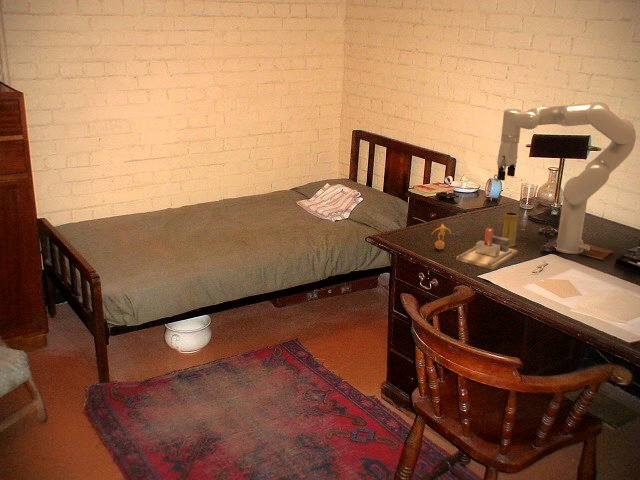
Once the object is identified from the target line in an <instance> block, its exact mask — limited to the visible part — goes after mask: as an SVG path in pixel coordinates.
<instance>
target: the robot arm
mask: <svg viewBox="0 0 640 480" xmlns="http://www.w3.org/2000/svg"><path fill="white" fill-rule="evenodd" d="M502 118H503V119H502V126H501V135H500V145H499V150H498V155H497V161H496V164H497V180H499V181H505V180H506V175H507V176H508V177H515V174H516V167H517V160H518V150H519V149H518V148H519V143H520V136H521V129H523V130H524V129H526V130H534V129H536V128H537V127H538V126H545V125H548V126H549V125H559V126H562V127H578V126H587V125H591V126H592V127H593V128H595V130H597V132H600V134H602V135H603V136H605V137H606V138H607V139H608V140H610V141H611V142H610V143H609V145H607V147H606V148H605V149H604V150H603V151H602V152H601V153H599V154H598V155H597V156H596V157H595V158H594V159H592V160H591V161H590V162H588V164H586V166H585V168H584V170H583V171H582V172H580V174H579V175H577V176H574V177H571V178H569V179H568V180H566V181H567V182H566V183H565V185H564V187H563V191H562V196H563V199H562V204H561V212H560V218H559V226H558V233H557V239H556V242H557V247H555V248H556V250H555V251H556V252H560V253H564V254H569V255H570V254H572V255H574V254H575V255H576V254H582V253H584V251H590V250H591V246H590V244H586V243H584V240H583V239H582V236H583V230H584V224H585V216H586V211H587V210H586V209H587V205H588V204H587V203H588V199H590V198H591V197H592V196H593V195H594V194H596V193H597V192H598V191H599V190H600V189H601V188H603V187H604V185H606V183H607V182H608V180H609V178H610V175H611V173H613V172H614V170H616V169H617V168H618V167H619V166H620V165H621V164H622V163H623V162H624V161H626V159H627V158H628V157H629V156H630V155H631V154H632V152H633V150H634V148H635V145H636V140H637V138H636V137H637V135H636V128H635V126H634V123H632V122H631V120H629V119H626V118H620V117H619V116H618V115H616V114H615V113H614V112H613V111H612V110H610V108H609V105H608V104H606V103H605V102H599V101H598V102H596V101H595V102H588V103H577V104H567V105H565V104H564V105H554V106H545V107H543V106H542V107H535V108H529V109H528V110H526V111H522V110H520V109H516V108H507V109H505V110H504V112H503V117H502ZM506 169H507V173H506Z"/></svg>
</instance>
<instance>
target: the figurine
mask: <svg viewBox="0 0 640 480" xmlns="http://www.w3.org/2000/svg"><path fill="white" fill-rule="evenodd" d="M436 231H439V232H438V234H437V237H438V240H437V241H436V242H435V244H434V246H435V249H437V250H439V251H440V250H443V249H444V247H445V241H444V236H445V234H446V232H445V231H449V233H450V235H452V232H451V229H450V228H448V227H446V226H445V225H444V223H441V225H440V226H439V227H438V228H436V229H434V230H433V231H432V233H431V235H433V234H434V233H435V232H436ZM441 235H442V237H440V236H441Z"/></svg>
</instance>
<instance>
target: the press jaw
mask: <svg viewBox="0 0 640 480" xmlns="http://www.w3.org/2000/svg"><path fill="white" fill-rule="evenodd" d="M494 231H495V230H494V228H493V227H492V228H491V227H485V233H484V240H485V241H484V240H479V241H476V243H475V246H476V248H475V252H478V253H482V254H485V255H489V256H493V257H496V256H498V255H499V254H500V245H497V244H493V243H492V241H493V235H494Z"/></svg>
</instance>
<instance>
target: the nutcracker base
mask: <svg viewBox="0 0 640 480" xmlns="http://www.w3.org/2000/svg"><path fill="white" fill-rule="evenodd" d="M483 241H485V239H484V240H483ZM492 243H493V244H497V245H500V254H499V255H498V256H496V257H493V256H489V255H485V254H482V253H478V252H475V248H476V245H475V246H473V247H471V248H469V249H468V250H465V251H464V252H462V253H461V254H458V255H457V256H456V258H455V259H456V261H458V262H463V263H466V264H470V265H474V266H477V267H480V268H481V267H482V268H485V269H488V270H491V271H492V270H495V269H496V268H498V267H499V266H500V265H502V264H504V263H505V262H507V261H509V260H510V259H511V258H512V259H513V258H514V257H515V256H517V255H518V253H519V250H518V249H515V248H511V247H509V244H510V239H507V238H503V237H502V236H498V235H494V234H493V241H492Z"/></svg>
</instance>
